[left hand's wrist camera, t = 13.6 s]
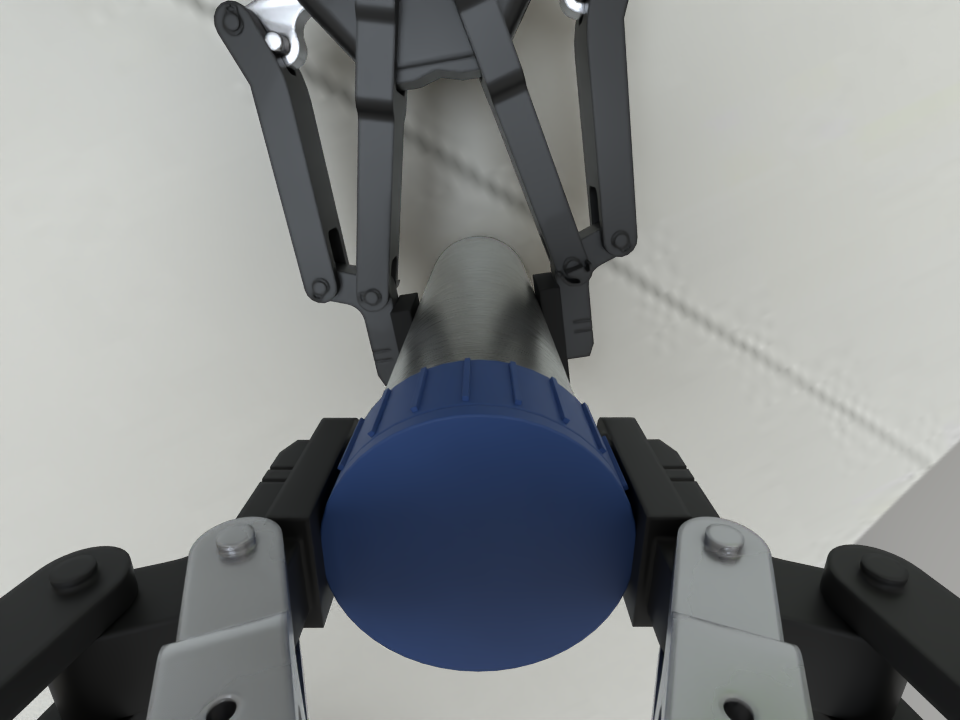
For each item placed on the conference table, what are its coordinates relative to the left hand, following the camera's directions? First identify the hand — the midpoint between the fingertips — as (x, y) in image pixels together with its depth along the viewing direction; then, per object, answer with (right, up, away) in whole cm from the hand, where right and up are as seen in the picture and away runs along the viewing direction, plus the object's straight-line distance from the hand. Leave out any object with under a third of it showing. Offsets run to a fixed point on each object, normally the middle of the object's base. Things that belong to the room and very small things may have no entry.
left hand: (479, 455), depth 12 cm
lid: (0, -1, -3) cm, 3 cm away
